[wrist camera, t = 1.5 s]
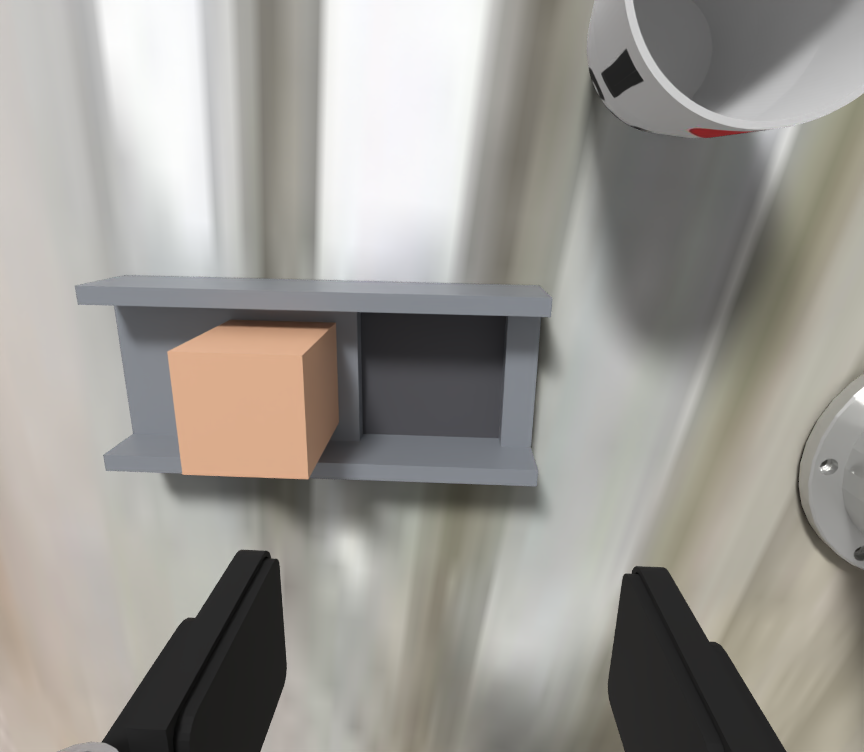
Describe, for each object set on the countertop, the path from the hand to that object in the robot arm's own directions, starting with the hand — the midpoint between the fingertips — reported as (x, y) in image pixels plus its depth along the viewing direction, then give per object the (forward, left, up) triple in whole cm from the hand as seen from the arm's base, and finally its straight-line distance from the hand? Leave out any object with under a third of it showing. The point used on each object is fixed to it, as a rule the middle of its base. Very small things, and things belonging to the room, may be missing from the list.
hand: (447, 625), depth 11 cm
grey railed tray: (+6, 0, -18) cm, 19 cm away
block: (+8, 0, -16) cm, 18 cm away
